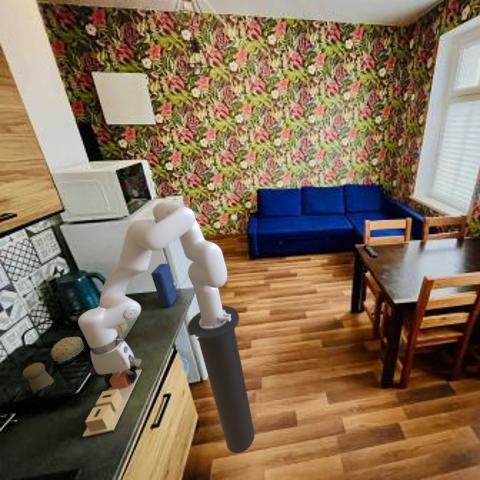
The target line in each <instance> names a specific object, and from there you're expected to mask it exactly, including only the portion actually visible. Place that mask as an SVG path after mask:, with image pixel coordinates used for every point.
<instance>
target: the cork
mask: <svg viewBox="0 0 480 480" xmlns="http://www.w3.org/2000/svg"><path fill="white" fill-rule="evenodd" d="M22 377H23V378H25V379H26V380H28V383H29V386H30V389H31V391H32V390H34V391H36V390H40V389H43V388H44V387H46V386H48V385H51V384H52V383H53V382H54V380H55V379H54V378H53V377H52V376H51V375H50V374H49V373H48V372H47V371H46V365H45V364H44V363H43V362H35V363H32V364H29V365H28V366H27V367H25V368H24V369H23V370H22Z"/></svg>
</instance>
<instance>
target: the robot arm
mask: <svg viewBox="0 0 480 480" xmlns="http://www.w3.org/2000/svg"><path fill="white" fill-rule="evenodd" d="M152 215H153V217H154V220H155V221H157V222H156V223H152V222H148V221H135V222H133V223H131V224H130V225H129V226H128V228H127V229H126V234H125V237H124V239H123V240H124V241H123V244H122V248H121V253H120V256H119V259H118V263H117V265H116V267H115V268H114V269H113V270H112V271H111V273H110V274H109V275H108V277H107V278H106V280H105V282H104V284H103V286H102V290H101V294H100V297H99V307H95V308H91V309H89V310H87V311H85V312H83V313H82V314H81V315H80V316H79V317H78V320H77V324H78V326H79V329H80V331H81V332H82V335H83V336H84V338H85V340H86V343H87V344H88V346H89V350H90V358H91V362H92V367H91V368H90V369H89V371H88V373H89V374H91V375H94V376H95V377H98V378H100V379H101V380H102V381H104V382H105V385H106V386H107V388H108V389H109V388H110V387H112V386H111V384H110V382H109V380H110V378H111V377H112V375H113V373H114V372H119V371H126V372H127V373H128V374H129V375H128V378H129V380H130V382H131V383H134V381H135V379H136V378H137V373H136V371H135V370H138V369H139V367H140V365H141V364H142V362H143V361H142V359H139V358H137V357H135V355H134V353H133V351H132V349H131V348H130V346H129V344H128V343H127V342H126V341H125V339H124V338H121V337H119V335H118V333H117V331H116V328H115V327H117V326H120V325H122V324H125V323H128V322H130V321H132V320H134V319H135V318H136V317H138V318H139V316H140V314H141V312H142V306H141V304H140V303H139V302H137V301H136V300H134V299H132V298H130V297H128V296H126V295H127V289H128V286H129V285H130V283H131V280H132V279H133V278H134V277H135V276H137V275H139V274H142V273H145V272H146V271H148V270H149V266H150V262H151V258H152V255H153V251H154V252H155V251H160V250H163V249H165V248H166V247H168V246H170V245H171V244H172V243H173V242H175V241H176V240H177V239H179V242H180V244H181V247H182V250H183V253H184V255H185V257H186V259H188V260H189V261H191V263H190V264H189V266H188V270H187V275H188V278H189V281H190V282H191V285H192V287H193V291H194V294H195V298H196V300H197V305H198V309H199V310H198V311H199V312H200V314H201V319H200V321H199V325H200V327H201V328H202V329H205V330H212V329H216V328H218V327H220V326H222V325H223V324H224V323H225V322H226V321H229V322H230V321H231V317H230V316H231V314H227V313H226V312H225V310H223V309H222V306H223V303H222V300H221V296H220V295H221V294H220V290H219V288H221V287H223V286H224V285H225V283H226V282H227V280H228V269H227V265H226V262H225V258H224V255H223V251H222V249H221V248H220V246H219V245H218V244H217V243H214V242H212V241H208V240H206V238H205V237H204V234H203V232H202V229H201V227H200V225H199V223H198V221H197V219H196V215H195V212H194V210H192V209H191V208H190V207H187V206H184V205H179V204H175V203H170V202H160V203H159V202H158V203H157V204H155V205H154V207H153V209H152ZM129 368H130V369H129Z"/></svg>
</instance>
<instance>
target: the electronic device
mask: <svg viewBox="0 0 480 480" xmlns="http://www.w3.org/2000/svg"><path fill="white" fill-rule="evenodd" d="M150 276H151V278H152V282H153V284H154V287H155V289H156V290H155V291H156V293H157V297H158V299H159V303H160V306H161V307H162V308H170V307H171V306H172V305H173V303H174V302H175V300H176V299H177V297H178V296H179V295H178V292H177V289H176V285H175V283H174V280H173V277H172V273H171V268H170V264H169V263H160V264H158V265H157V267H155V269H153V271H152V272H151V273H150Z"/></svg>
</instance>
